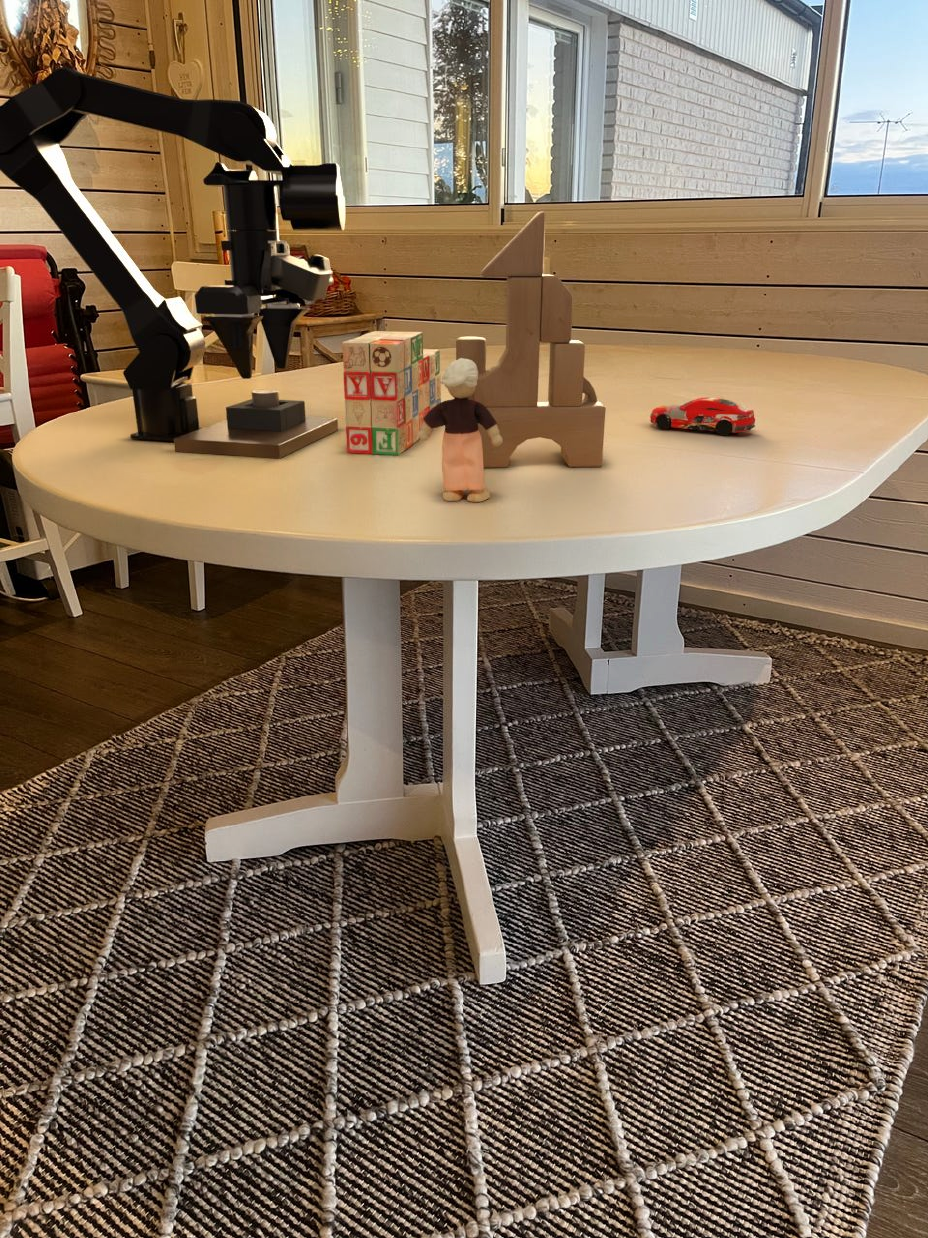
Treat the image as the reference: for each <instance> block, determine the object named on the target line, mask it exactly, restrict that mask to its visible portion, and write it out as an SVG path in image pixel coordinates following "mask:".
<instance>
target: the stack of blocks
mask: <svg viewBox="0 0 928 1238" xmlns="http://www.w3.org/2000/svg"><path fill="white" fill-rule="evenodd" d="M341 347H342V364H343V365H342V366H343V392H344V393H343V395H344V406H345V424H346V425H345V436H346V452H347V454H362V455H364V454H366V455H373V454H374V455H384V456H386V455H387V456H399V455H401V454H402V453H403V452H405V451H406V450H407V449H409V448H410V447H411V446H412V445H413V444H415V443H416V442H417V441H418V440H420V438H419V436H418V434H419V432H420V431H421V429H422V425H423V422H424V420H423V418H424V417H425V415H426V414H427V413H428V412H429V411H430V410H431V409H432V408H433V407H435V406H436V405H438V404H439V403H441V402H442V383H441V382H442V377H441V376H442V375H441V373H440V372H441V361H440V359H441V355H440V353H441V351H440V349H434V348H433V349H431V348H428V349H427V348H424V332H423V331H389V330H387V331H386V330H385V331H384V330H374V331H370V332H368V333H365V334H362V335H359V336H358V337H355V338H352V339H348V340H345V341H342V345H341Z"/></svg>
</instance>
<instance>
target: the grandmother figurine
mask: <svg viewBox="0 0 928 1238" xmlns="http://www.w3.org/2000/svg"><path fill="white" fill-rule="evenodd" d="M441 376H442V377H441V385H444V387H445V388H446V389H447V391H448V393H449V395H450V396H451V397H452V398H451V399H448V400H444V401H441V403H439V404H438V405H436V406H435V407H433V408H432V409H431V410H430V411H429V412H428V413H427V414H426V415H425V417H424V418H423V420H424V422H423V425H422V429H421V431H420V432H419V434H418V436H419V440H421V441H424V442H425V441H428V440H430V439H429V438H430V435H431V433H432V432H433V430H434V429H436V428H440V427H444V431H443V434H442V444H441V445H442V446H441V470H442V479H443V483H442V484H443V489H444V492H443V494H442V498H443V500H444V501H445V502H459V501H461V500H462V499H463V498H464V497H465V493H464V491H467V490H469V492H470V493H469V494H468V495H467V498H466V501H467V502H474V503H479V502H483V501H485V500H488V499H490V498H491V493H490V492H489V490H488V489H486V488H485V468H484V467H483V449H482V439H481V435H480V432H479V428H478V423H479V424H481V425H482V426H483V427H484V429H485V430H487V432H488V435H489V436H490V437H491V442H492V444H493V445H494V446H499V445H501V444H502V442H503V439H502V437H501V436H500V435H499V429H498V427H497V422H496V420H495V419H494V418H493V416H492V415H491V413H490V412H489V410H488V409H487V408H486V407H485V406H484V405H483V404H482V403H480V402H478V401H475V400H471V399H468V398H469V397H470V396H471V395H473V393H474V391H475V387H476V385H477V379H478V369H477V366H476V364H475V363H474V362H473V361H472V360H469V359H463V358H460V359H458V360H456V359H455V360H453V361H452V362H451V363H450V364H448V365H447V366H446V369H445V370H444V372H443V373H442V375H441Z"/></svg>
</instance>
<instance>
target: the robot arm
mask: <svg viewBox="0 0 928 1238" xmlns="http://www.w3.org/2000/svg"><path fill="white" fill-rule="evenodd" d="M88 115H92V116H97V117H100V118H105V119H108V120H112V121H115V122H120V123H124V124H129V125H132V126H135V127H136V126H137V127H139V128H140V127H141V128H144V129H149V130H151V131H155V132H160V133H164V134H168V135H172V136H176V137H179V138H184V139H186V140H188V141H190V142H192V143H195V144H197V145H199V146H201V147H203V148H204V149H207V150H209V151H212V152H214V153H216V154H219V155H221V156H223V157H224V158H227V159H230V160H231V161H235V162H237V163H239V164H240V163H241V164H244V165H247V166H255V167H257V168H259V169H261V170H262V171H265V172H266V173H269V174H270V173H271V174H274V175H276V176H280V177H281V176H282V178H281V179H259V177H258V175H257V173H256V171H255V170H254V169H229V168H227V166H226V164H224V163H223V162H219V161H217V162H215V164H214V166H213V168H212V170H211V171H210V172H209V173H208V174H207V175H206V176H205V177H204V178H203V179H202V181H203V184H204V185H205V186H209V187H213V188H222V191H223V198H224V200H223V201H224V210H225V221H226V230H227V231H226V232H227V240H220V247H221V251H228V255H229V264H230V275H231V279H224V285H223V284H215V285H204V286H203V285H202V286H200V288H199V289H198V290H197V291H196V292H195V294H194V303H195V310H196V311H195V312H196V314H198V315H204V316H203V321H204V322H207V323H208V324H209V326H210V327H211V328H212V330H213V332H214V333H215V335H216V336H217V339H218V340H219V341H220V343H221V344H222V346H223V348H224V349H225V351H226V353H227V355H228V356H229V359H230V360H231V361H232V363H233V365H234V367H235V368H236V371H237V372H238V374H239V376H240V377H241V379H243V380H250V379H251V378H252V377H253V365H254V330H255V329H256V328H257V326H258V325H259V324H260V323H261V326H262V329H263V332H264V335H265V339H266V341H267V344H268V347H269V350H270V353H271V356H272V359H273V361H274V364H275V366H276V368H277V369H282V370H284V369H286V368H287V365H288V361H289V357H290V351H291V347H292V343H293V337H294V334H295V331H296V326H297V323H298V321H300V320H301V319H302V317H303V316H304V315H306V313H309V312H310V310H311V308H310V307H301V306H310V305H311V306H312V305H315V303H316V301H317V300H320V301H325V300H326V295H327V291H328V288H329V286H333V285H334V282H335V280H334V278H333V274H334V271H333V270H332V269H331V263H330V259H329V258H328V257H326V256H324V255H321V254H312V255H310V257H309V258H308V259H307V260H306V259H304V258H298V257H295V256H292V255H291V254H290V253H291V252H290V245H289V243H287V240H280V224H279V212H280V216H281V219H282V222H290V226H291V228H292V230H293V231H295V232H296V231H297V232H309V231H312V232H315V231H316V232H317V231H318V232H322V231H323V232H326V231H329V232H330V231H331V232H336V231H337V232H340V231H341V232H343V231H345V228H346V213H347V212H346V196H344V192H343V185H342V179H341V171H340V169H341V168H340V165H338V164H337V163H334V162H332V163H331V162H330V163H329V162H328V163H327V162H326V163H322V164H315V165H314V164H313V165H312V164H311V165H309V164H307V165H305V164H304V165H300V164H297V165H296V164H293V163H292V162H291V158H290V157H288V156H287V155H286V154H285V152H284V151H283V150H282V148H281V147H280V145H279V144H278V143H277V132H276V128H275V125H274V124H273V122H272V121H271V119H270V117H269V116H268V115H267V114H265V112H263V111H261V110H260V109H258V108H256V107H255V106H253V105H251V104H249V103H247V102H244V101H242V100H229V99H212V98H210V99H209V98H208V99H207V98H206V99H187V98H180V97H176V96H172V95H168V94H164V93H161V92H156V91H151V90H150V89H149V90H148V89H145V88H140V87H136V86H133V85H128V84H124V83H121V82H117V81H113V80H109V79H105V78H102V77H98V76H94V75H89V74H86V73H83V72H82V71H79V70H76V69H74V68H71V67H70V66H69V67H68V66H61V67H58V68H56V69H55V70H53V71H52V72H51V73H50V74H48V75H47V76H46V77H45V78H43V79H42V80H41V81H40V82H37V83H35V84H34V85H32V86H30V87H28V88H26V89H24V90H22V91H19V92H18V93H16V94H14V95H13V96H11V97H10V98H9V99H7V100H6V101H5V102H3V104H1V105H0V172H1V173H2V174H3V175H4V176H5V177H6V178H8V179H9V180H10V181H11V182H13V184H15V185H16V186H18V187H19V188H20V189H22V190H23V191H25V192H26V193H27V194H28V195H30V196H31V197H32V198H33V199H35V200H36V201H37V203H39V205H40V206H41V208H42V209H43V210H44V211H45V213H46V214H47V215H48V216H49V217H50V219H51V220H52V222H53V223H54V224H55V225H56V226H57V228H58V229H59V231H60V232H61V234H62V235H63V236H64V237H65V238H66V240H67V241H68V242H69V244H70V245H71V246H72V247H73V249H74V250H75V251H76V253H77V254H78V255H79V257H80V259H82V261H83V262H84V263H85V265H87V267H88V268H89V270H90V271H91V273H92V274H93V275H94V277H96V279H97V280H98V282H99V283H100V284H101V285H102V286H103V288H104V289H105V290H106V292H107V293H108V294H109V296H110V297H111V299H112V300H114V302H115V303H116V305H117V306H118V308H119V309H120V310H121V312H122V315H123V317H124V320H125V322H126V325H127V329H128V332H129V335H130V338H131V340H132V341H133V343H134V345H135V347H136V348H137V350H138V352H139V353H138V354H136V356H135V357H134V358H133V360H131V361H130V363H129V364H128V365H127V367H125V369H124V370H123V371H122V374H123V377H124V379H125V381H126V384H127V385H128V388H129V389H130V390H131V391H132V400H133V407H134V414H135V421H136V422H135V423H136V429H137V431H136V432H133V433H131V434H130V435H129V436H130V439H133V440H146V441H147V440H148V441H149V440H150V441H163V442H174V438H177V437H180V436H182V435H185V434H188V433H191V432H194V431H196V430H199V429H202V428H203V427H200V422H199V412H198V403H197V397H196V396H194V394H193V386H192V385H193V384H192V383H187V382H186V381H190V380H191V379H192V376H193V371H194V367H196V366H197V365H198V364H199V363H200V362H201V361H202V360H203V357H204V355H205V351H206V340H205V337H204V335H203V333H202V331H201V329H200V328H202V327H203V325H204V324H203V323H201V322H200V321H199V320H197V319H196V318H195V317H194V316H193V315H192V313H191V312H190V310H189V308H188V306H187V305H186V302H185V301H184V300H183V298H182V297H181V296H176V297H171V298H165V297H163V296H162V295H161V294H160V293H158V292H157V291H156V290H155V288H153V286H152V285H151V284H150V282H149V281H148V279H147V278H146V277H145V276H144V274H143V273H142V271H140V269H139V267H138V266H137V265H136V263H135V262H134V260H133V259H132V258H131V257H130V256H129V255H128V252H126V250H125V249H124V248H123V247H122V245H121V243H120V242H119V241H118V239H117V238H116V237H115V236H114V234H113V233H112V231H111V230H110V228H108V227H107V225H106V224H105V222H104V221H103V219H102V218H101V217H100V216H99V214H98V213H97V212H96V210H95V209H94V208H93V206H92V205H91V203H90V202H89V201H88V200H87V198H86V197H85V196H84V195H83V193H82V192H81V190H80V189H79V187H78V186H77V184H75V182H74V180H73V178H72V174H71V172H70V168H69V166H68V163H67V159H66V157H65V155H64V152H63V150H62V149H61V147H60V144H61V143H62V142H64V141H65V140H66V139H68V138H69V137H70V135H71V134H72V133H73V132H74V130H75V129H76V128H77V127H78V125H79V124H80V123H81V121H83V119H84V118H86V117H87V116H88ZM277 188H278V198H277ZM278 201H279V203H278ZM278 204H279V210H278ZM278 211H279V212H278ZM300 305H301V306H300ZM262 306H264V307H262ZM255 314H258V315H255Z"/></svg>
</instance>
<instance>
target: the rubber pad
mask: <svg viewBox="0 0 928 1238" xmlns="http://www.w3.org/2000/svg"><path fill="white" fill-rule="evenodd" d="M279 405H280V406H277V407H274V408H272V407H253V406H252V398H250V399H248V400H245V401H242V402H238V403H234V404H232V405H229V406H226V407H225V412H226V413H225V414H226V420H227V425H228V428H229V429H246V430H263V431H280V432H281V431H284V430H286V429H289V428H291V427H293V426H296V425H298V424H300V423H302V422H305V421H306V418H305V417H306V403H305V400H295V399H294V400H293V399H292V400H291V399H279Z"/></svg>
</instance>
